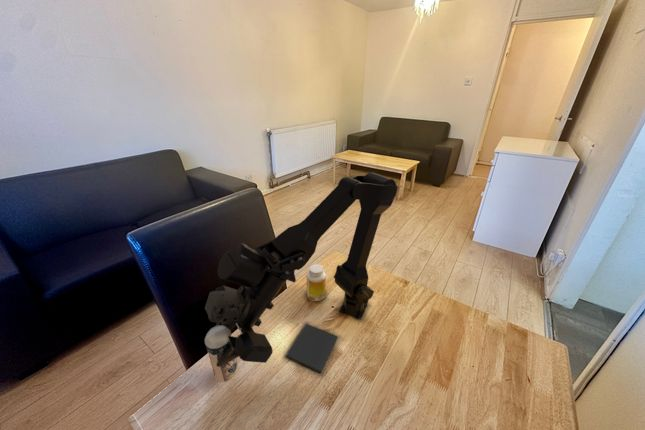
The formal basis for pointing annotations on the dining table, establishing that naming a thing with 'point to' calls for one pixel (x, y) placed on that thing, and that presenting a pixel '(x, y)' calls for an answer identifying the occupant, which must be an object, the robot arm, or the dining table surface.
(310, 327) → the can mat
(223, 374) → the beer can
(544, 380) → the dining table surface
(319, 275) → the supplement bottle
